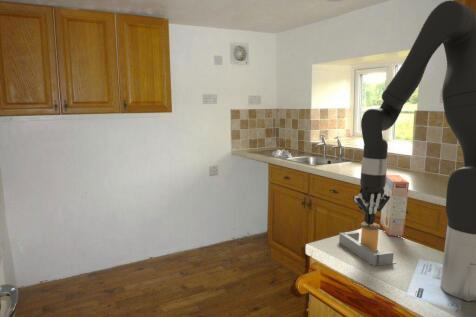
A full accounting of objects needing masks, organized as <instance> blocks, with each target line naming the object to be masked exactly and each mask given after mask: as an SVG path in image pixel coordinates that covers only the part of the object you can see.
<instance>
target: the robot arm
mask: <svg viewBox="0 0 476 317" xmlns="http://www.w3.org/2000/svg"><path fill="white" fill-rule="evenodd" d="M428 14H429V15H427V17H426V19H425V21H424V23H423V25H422V27H421V29H420V31H419V33H418V35H417V37H416V39H415V41H414V42H413V43H412V46H411V48H410V50H409V52H408V54H407V55H406V57H405V59H404V61H403V62H402V65H401V66H400V68H399V69H398V70H397V72H396V74H395V75H394V76H393V78H392V79H391V80H390V82H389V84H388V85H387V86H386V87H385V89H384V91H383V92H382V94H381V99H382V102H381V105H380V107H378V108H369V109H367V110H365V112H364V113H363V114H362V116H361V120H360V128H361V135H362V140H363V152H362V153H363V154H362V160H361V167H360V169H361V170H360V180H359V181H360V182H359V183H360V184H359V185H360V189H359V193H358V194H357V195H354V196H352V200H353V202H354V203H355V204H356V205H357V207H358V209H359V210H360V211H361V212H363V213H364V222H366V224H368V225H372V224H373V223H375V220H376V214H377V212H381V210H382V209H383V207H384V206H385V204H386V203H387V202H388V200H389V199H390V196H388V195H386V194H385V193H384V192H385V191H384V187H385V183H386V175H387V170H388V161H387V160H388V159H387V158H388V149H389V146H388V141H387V140H386V139H384V138H383V137H384V136H383V132H384V131H387V130H389V129H390V128H392V127H393V126H394V124H395V123H396V122H397V120H398V118H399V116H400V114H401V112H402V110H403V107H404V105H405V104H406V103H407V102H408V101H409V100H410V98H411V96H412V95H413V94H414V93H415V91H417V88H418V87H419V85H420V83H421V81H422V80H423V76H424V73H425V71H426V69H427V66H428V64H429V62H430V60H431V58H432V57H433V55H434V53H435V52H436V51H437V49H439V48H440V47H441V45H442V44H443V49H444V52H445V57H446V71H445V75H444V79H443V83H442V91H441V92H442V93H441V96H442V97H441V98H442V103H443V104H442V105H443V112H444V117H445V120H446V122H447V124H448V126H449V128H450V130H451V131H452V134H454V136H455V137H456V140H457V142H459V146H460V148H461V150H462V154H463V155H462V158H463V163H464V166H463V167H459V168H457V169H455V170H453V171H452V173H451V174H450V176H449V177H448V181H447V185H446V186H447V187H446V195H445V196H446V197H445V198H446V199H445V214H446V218H447V224H446V225H447V226H446V234H445V242H444V251H443V259H442V268H441V276H440V288H441V289H442V291H444V292H445V293H446V294H448V295H450V296H453V297H455V298H458V299H461V300H464V301H466V302H473V301H476V13H475V12H474V10H473V9H472V8H471V7H470V6H468V5H465V4H463V3H461V2H458V1H457V0H444V1H443V2H442V1H441V2H440V3H438V4H437V5H436V6H435V7H433V9H432V10H430V13H428Z"/></svg>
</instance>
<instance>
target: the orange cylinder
mask: <svg viewBox="0 0 476 317" xmlns="http://www.w3.org/2000/svg"><path fill="white" fill-rule="evenodd" d="M360 227H361V231H360V234H361V236H360V241H361V244H363V245H364V246H366V247H368V248H369V249H371V250H372V251H374V252H379V250H378V243H379V232H380V229H381V224H380V223H379V224H378V223H376V222H374V223H373V224H372V225H368V224H366V222H365V221H363V222H361V223H360Z"/></svg>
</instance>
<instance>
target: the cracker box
mask: <svg viewBox="0 0 476 317" xmlns="http://www.w3.org/2000/svg"><path fill="white" fill-rule="evenodd" d="M409 187H410V182H409V181H407V180H406V178H404V177H402V176H401V175H398V174H386V183H385V187H384V191H385V192H384V193H385V194H386V195H388V196H390V199H389V200H388V202H387V203H386V204H385V206H384V207H383V209H382V210H381V211H380V223H379V225H380V226H381V227H382V228H383V230H384V231H385V233H386V234H387V236H391V237H392V236H393V237H400V238H401V237H402V238H403V237H404V235H405V234H404V232H405V225H406V224H405V223H406V213H407V206H408V205H407V203H408V195H409Z"/></svg>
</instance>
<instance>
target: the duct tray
mask: <svg viewBox="0 0 476 317" xmlns="http://www.w3.org/2000/svg"><path fill="white" fill-rule="evenodd" d="M338 243H339V244H341V245H342V246H344V247H345V248H346V249H348V250H350V251H351V252H352V253H354V254H355V255H357V256H358V257H360V258H361V259H363V260H364V261H365V262H367V263H369V264H370V265H371V266H372V267H380V266H385V265H394V264H397V262H396V261H395V260H394V252H393V251H391V250H386V251H385V250H384V251H378V252H374V251H372V250H371V249H369V248H368V247H366V246H364V245H363V244H361V239H360V232H359V231H355V230H354V231H346V232H339V237H338Z"/></svg>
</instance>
